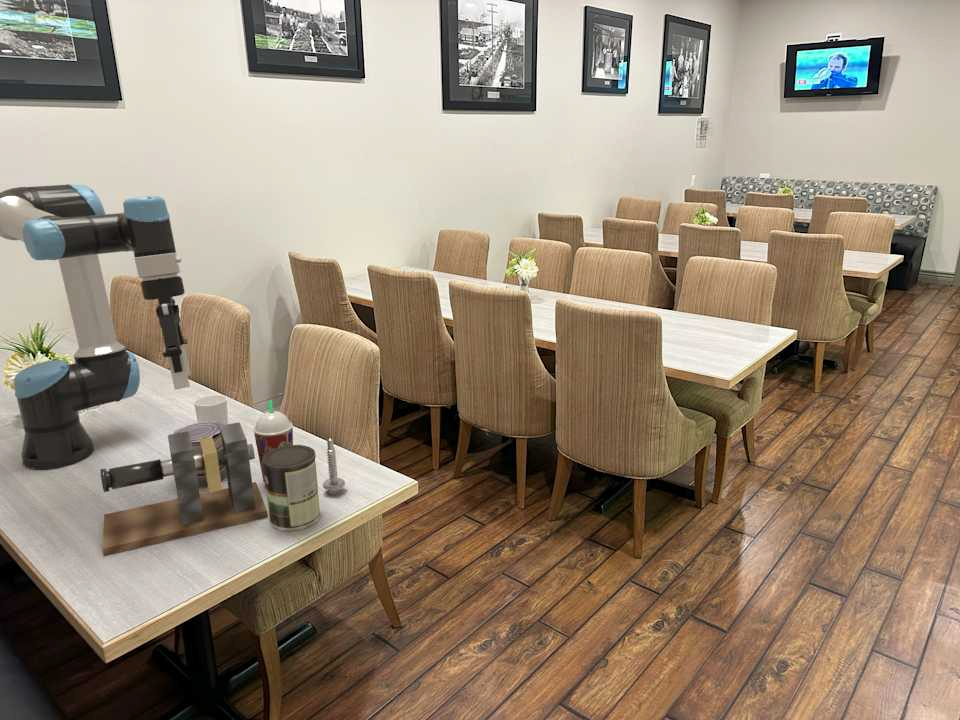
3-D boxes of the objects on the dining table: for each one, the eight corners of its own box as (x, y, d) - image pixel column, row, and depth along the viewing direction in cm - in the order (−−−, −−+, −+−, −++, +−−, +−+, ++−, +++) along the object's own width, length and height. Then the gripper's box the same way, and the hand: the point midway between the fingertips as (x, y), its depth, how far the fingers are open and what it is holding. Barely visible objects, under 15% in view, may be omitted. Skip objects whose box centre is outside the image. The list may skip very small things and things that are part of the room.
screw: (343, 497, 148) (321, 497, 148) (347, 486, 153) (325, 486, 153) (339, 442, 144) (316, 442, 144) (343, 433, 149) (321, 433, 149)
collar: (209, 492, 137) (203, 454, 134) (204, 475, 144) (199, 439, 141) (222, 490, 138) (216, 452, 135) (217, 473, 145) (212, 436, 142)
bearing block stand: (103, 555, 128) (86, 474, 123) (105, 520, 140) (89, 445, 135) (267, 516, 141) (258, 441, 135) (256, 487, 153) (247, 417, 147)
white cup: (236, 430, 184) (231, 395, 181) (222, 442, 176) (217, 406, 173) (208, 429, 185) (203, 394, 181) (193, 441, 177) (188, 405, 174)
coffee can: (264, 533, 135) (256, 468, 131) (275, 506, 145) (267, 445, 140) (317, 530, 136) (311, 465, 131) (324, 504, 145) (318, 443, 141)
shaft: (104, 496, 130) (100, 475, 128) (105, 486, 134) (100, 465, 132) (256, 465, 142) (253, 445, 140) (252, 456, 145) (250, 437, 144)
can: (225, 486, 153) (218, 437, 150) (171, 491, 152) (163, 442, 148) (234, 464, 164) (227, 418, 160) (184, 468, 162) (176, 421, 159)
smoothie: (305, 477, 157) (297, 395, 151) (284, 494, 150) (274, 409, 144) (274, 472, 160) (265, 392, 154) (252, 488, 152) (241, 405, 146)
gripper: (179, 276, 124) (202, 389, 128) (182, 272, 147) (203, 368, 151) (133, 283, 121) (159, 397, 126) (144, 277, 144) (166, 375, 149)
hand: (183, 382), depth 138 cm, fingers open, 13 cm apart
